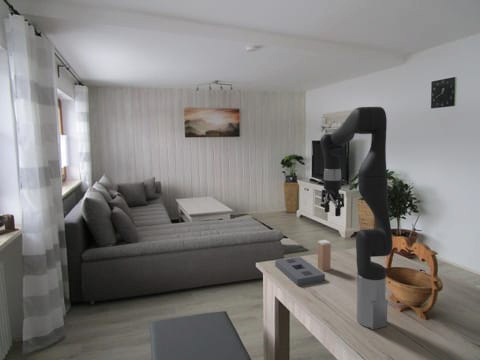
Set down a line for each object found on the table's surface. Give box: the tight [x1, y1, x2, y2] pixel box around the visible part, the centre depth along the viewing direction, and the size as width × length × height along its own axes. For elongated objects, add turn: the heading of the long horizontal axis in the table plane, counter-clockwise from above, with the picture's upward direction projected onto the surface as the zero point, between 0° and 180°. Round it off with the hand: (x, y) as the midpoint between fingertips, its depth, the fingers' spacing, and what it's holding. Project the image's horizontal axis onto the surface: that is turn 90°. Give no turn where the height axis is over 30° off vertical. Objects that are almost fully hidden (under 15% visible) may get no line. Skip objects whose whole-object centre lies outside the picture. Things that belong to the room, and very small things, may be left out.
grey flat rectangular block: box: [274, 256, 326, 287], centre depth 156 cm, size 24×14×3 cm, turn 17°
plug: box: [317, 239, 332, 272], centre depth 159 cm, size 4×4×14 cm
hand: (332, 214), depth 146 cm, fingers open, 8 cm apart
